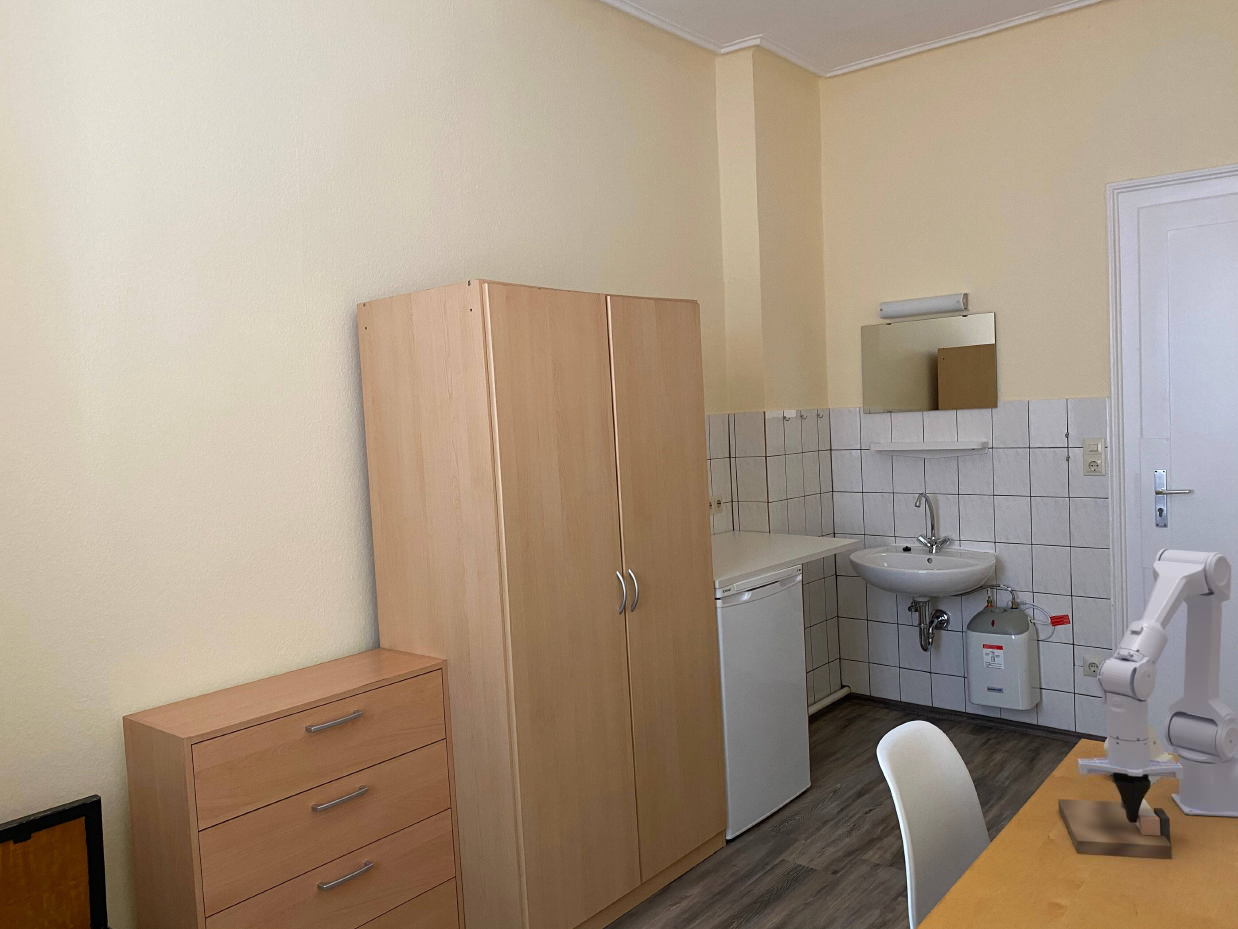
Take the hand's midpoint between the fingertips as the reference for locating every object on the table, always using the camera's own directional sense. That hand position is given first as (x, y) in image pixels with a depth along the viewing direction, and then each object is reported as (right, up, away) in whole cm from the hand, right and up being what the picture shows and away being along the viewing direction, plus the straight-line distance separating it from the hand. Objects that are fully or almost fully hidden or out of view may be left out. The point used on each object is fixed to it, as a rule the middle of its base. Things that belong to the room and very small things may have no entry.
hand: (1131, 820), depth 147 cm
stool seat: (-1, -3, +3) cm, 5 cm away
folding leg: (+3, -1, +3) cm, 5 cm away
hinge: (+17, -2, +28) cm, 32 cm away
